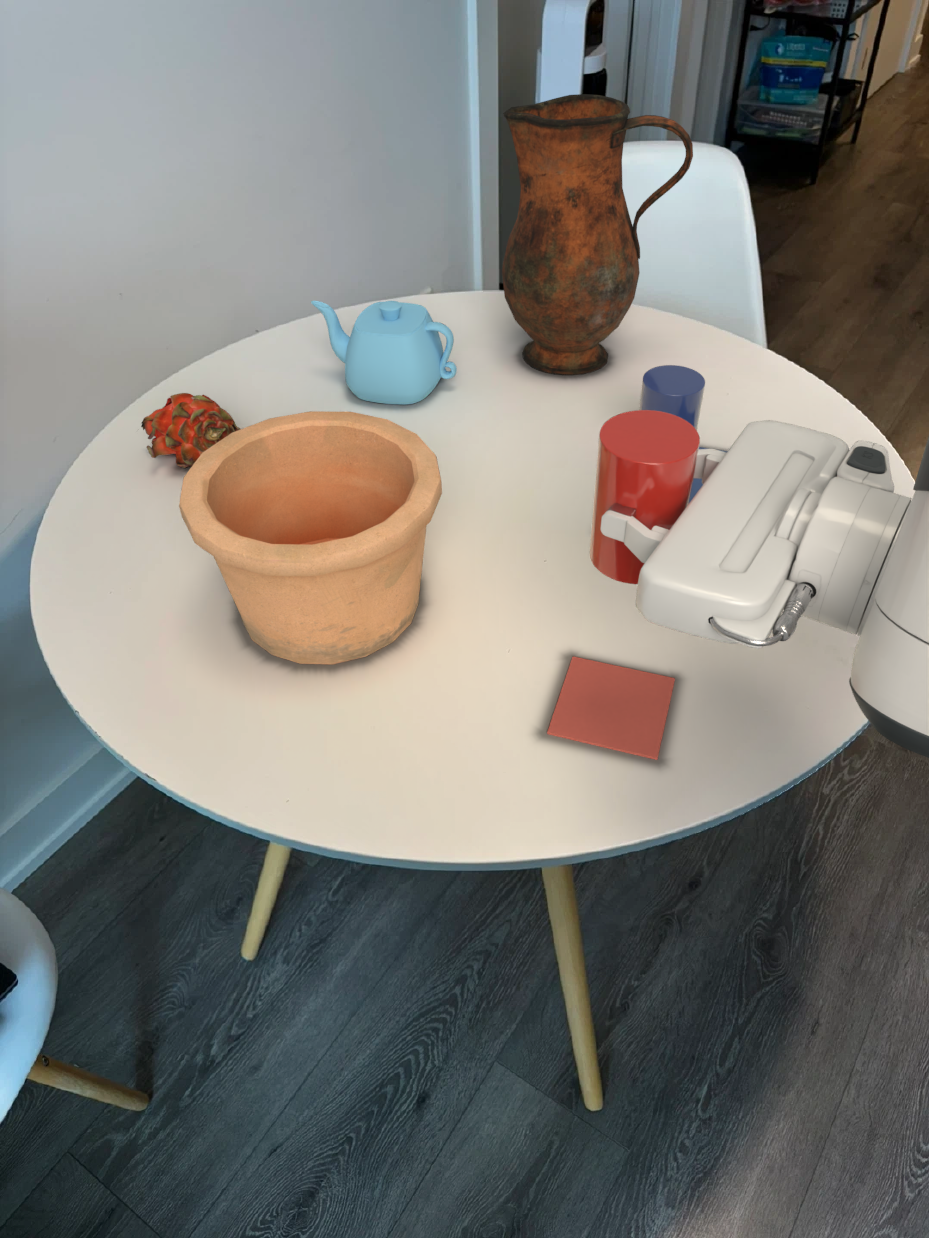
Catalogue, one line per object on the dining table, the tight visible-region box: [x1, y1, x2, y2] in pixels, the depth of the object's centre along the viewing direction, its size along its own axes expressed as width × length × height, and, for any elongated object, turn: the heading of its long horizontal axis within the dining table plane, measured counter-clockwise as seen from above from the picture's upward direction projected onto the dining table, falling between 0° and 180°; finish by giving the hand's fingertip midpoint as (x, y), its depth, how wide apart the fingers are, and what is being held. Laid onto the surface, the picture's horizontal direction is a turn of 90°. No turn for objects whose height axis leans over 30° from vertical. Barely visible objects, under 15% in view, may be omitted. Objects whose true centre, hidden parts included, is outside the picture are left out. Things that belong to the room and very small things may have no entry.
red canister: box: [588, 409, 701, 585], centre depth 63 cm, size 6×6×10 cm
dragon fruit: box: [135, 392, 241, 469], centre depth 104 cm, size 8×8×12 cm
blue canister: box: [638, 364, 706, 431], centre depth 99 cm, size 6×6×10 cm
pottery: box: [178, 410, 443, 665], centre depth 83 cm, size 22×22×14 cm
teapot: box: [310, 300, 458, 405], centre depth 114 cm, size 13×11×18 cm
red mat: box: [546, 655, 676, 761], centre depth 77 cm, size 9×9×1 cm
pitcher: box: [501, 93, 694, 376], centre depth 111 cm, size 17×21×30 cm
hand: (630, 487), depth 63 cm, fingers closed on red canister, 6 cm apart
